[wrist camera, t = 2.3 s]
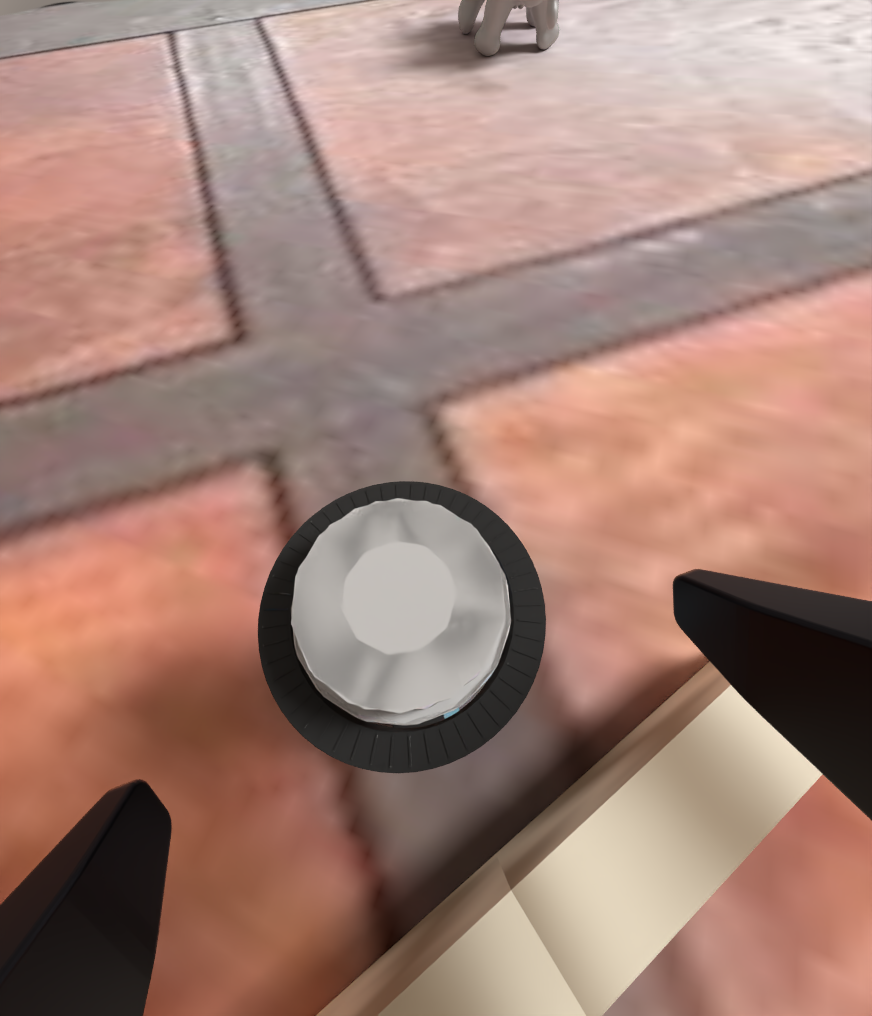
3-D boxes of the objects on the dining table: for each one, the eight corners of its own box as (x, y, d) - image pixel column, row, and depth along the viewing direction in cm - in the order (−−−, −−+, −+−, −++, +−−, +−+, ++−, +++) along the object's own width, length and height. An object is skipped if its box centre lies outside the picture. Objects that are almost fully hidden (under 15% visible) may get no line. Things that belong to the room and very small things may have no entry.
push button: (330, 575, 18) (218, 434, 8) (455, 542, 18) (478, 379, 9) (362, 756, 15) (251, 836, 6) (508, 711, 16) (615, 719, 6)
